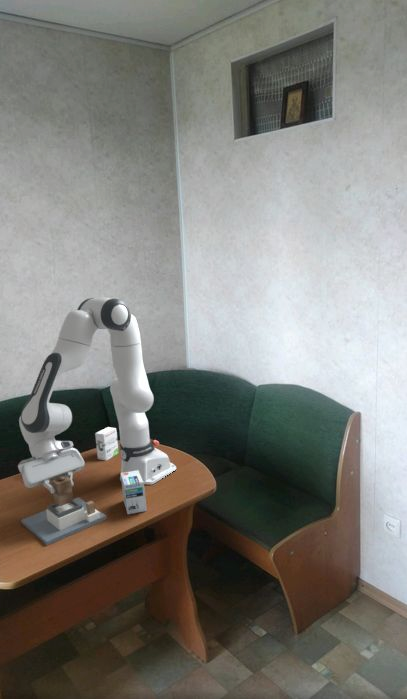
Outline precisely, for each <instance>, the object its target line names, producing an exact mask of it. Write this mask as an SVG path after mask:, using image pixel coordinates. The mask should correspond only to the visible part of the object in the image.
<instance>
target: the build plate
mask: <svg viewBox="0 0 407 699" xmlns="http://www.w3.org/2000/svg"><path fill="white" fill-rule="evenodd" d="M95 506H96V505H95V502H94V501H93V500H89V501H87V502H86V501H84V500H83V498H80V497H75V498H73V502H70V503H67V504H65V505H62V506H59V505H58V504H57V503H55V502H54V503H51V504H48V505H47V508H46V509H45V510H43V511H40V512H38V513H35V514H32V515H31V516H28V517H27V516H26V517H25V518H23V519H20V521H21V524H22V525H23V526H24V527H26V529H28V530H29V531H30V532H31V533H32V534H34V535H35V536H36V537H37V538H38V539H39V540H40V541H41V542H42V543H43V544H45V545H46V546H49V545H52V544H54V543H56V542H58V541H60V540H63V539H65V538H68V537H70V536H72V535H75V534H76V533H78V532H81V531H83V530H86V529H87V528H90V527H92V526H94V525H97V524H98V523H101V522H104V521H105V520H107V515H105V513H103V512H101V511H99V509H97V508H96V507H95Z"/></svg>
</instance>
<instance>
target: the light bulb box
mask: <svg viewBox="0 0 407 699" xmlns="http://www.w3.org/2000/svg"><path fill="white" fill-rule="evenodd" d="M120 475H121V481H122V482H121V481H120V482H121V489H122V498H123V504H124V506H125V511H126V514H127V515H132V514H137V513H142V512H147V510H148V509H147V501H146V489H145V484H144V481H143V479H142V477H141V475H140V472H139V470H137V471H131V472H124V473H121V472H120Z"/></svg>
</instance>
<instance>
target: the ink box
mask: <svg viewBox="0 0 407 699" xmlns="http://www.w3.org/2000/svg"><path fill="white" fill-rule="evenodd" d="M94 436H95V444H96V453H97V454H96V455H97V459H98V460H101V461H108V460H110V459H112V458H113V457H115V456H117V455H119V454H120V453H119V443H118V432H117V428H116V427H110V426H107V427H105V428H104V429H101V430H99V431H97V432H95V434H94Z"/></svg>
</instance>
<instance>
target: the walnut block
mask: <svg viewBox="0 0 407 699" xmlns="http://www.w3.org/2000/svg"><path fill="white" fill-rule="evenodd" d="M51 486H55V487H56V489H57V492H56V493H54V494H52V496H53V502H54V503H57V504H58V505H59V506H62V505H65V504H67V503H70V502H73V499H74V498H73V496H74V495H73V488H72V486H71V480H70V479H69V478H67V476H60V477H58V478H56V479H53V480H52V481H51Z"/></svg>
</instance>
